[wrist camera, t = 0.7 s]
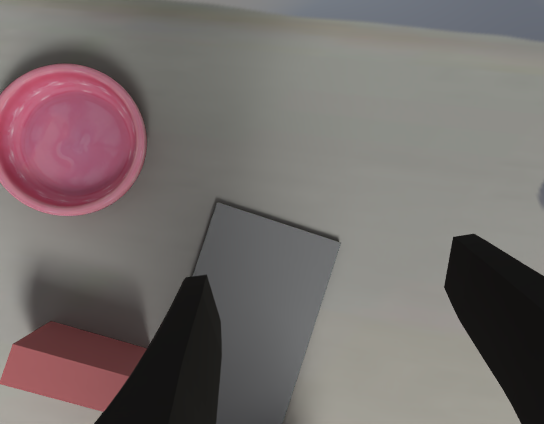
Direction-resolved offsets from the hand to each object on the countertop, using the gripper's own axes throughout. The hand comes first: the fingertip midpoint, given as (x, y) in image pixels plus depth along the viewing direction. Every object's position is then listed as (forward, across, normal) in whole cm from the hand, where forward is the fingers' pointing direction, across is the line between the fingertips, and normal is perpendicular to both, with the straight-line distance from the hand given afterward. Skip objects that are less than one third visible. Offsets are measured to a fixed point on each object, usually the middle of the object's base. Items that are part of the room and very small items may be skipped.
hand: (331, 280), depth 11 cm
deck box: (+15, +19, +19) cm, 31 cm away
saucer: (+25, +17, +4) cm, 31 cm away
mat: (+16, +5, +20) cm, 26 cm away
